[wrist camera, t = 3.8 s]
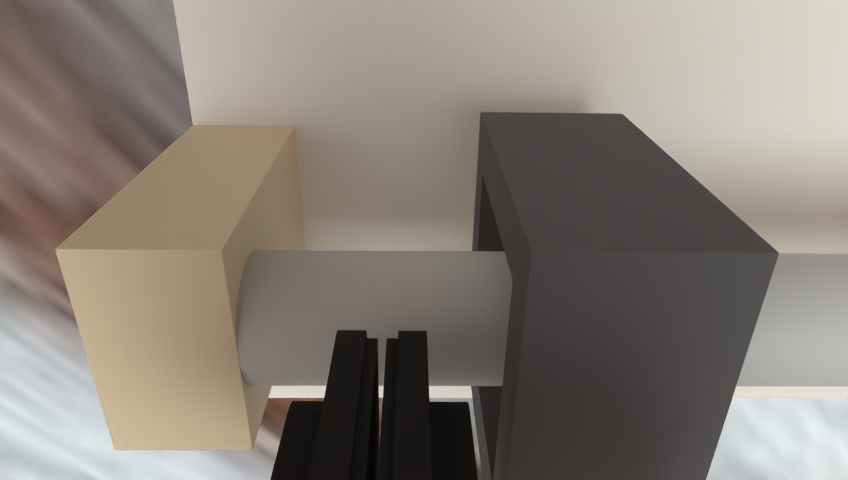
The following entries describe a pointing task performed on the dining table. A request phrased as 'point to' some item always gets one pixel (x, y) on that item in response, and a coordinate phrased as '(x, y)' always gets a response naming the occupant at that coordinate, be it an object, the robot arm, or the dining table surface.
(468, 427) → the robot arm
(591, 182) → the collar
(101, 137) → the dining table surface
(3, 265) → the dining table surface
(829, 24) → the pipe stand
